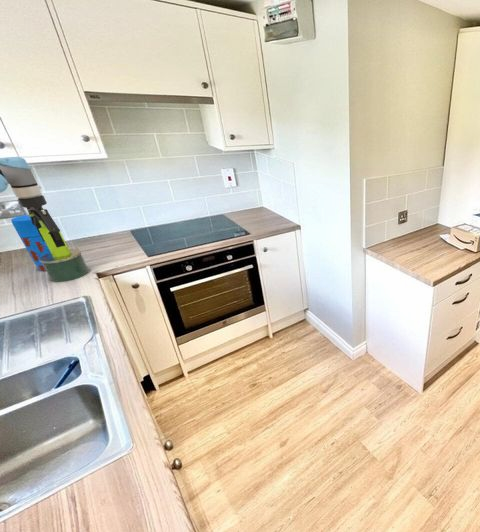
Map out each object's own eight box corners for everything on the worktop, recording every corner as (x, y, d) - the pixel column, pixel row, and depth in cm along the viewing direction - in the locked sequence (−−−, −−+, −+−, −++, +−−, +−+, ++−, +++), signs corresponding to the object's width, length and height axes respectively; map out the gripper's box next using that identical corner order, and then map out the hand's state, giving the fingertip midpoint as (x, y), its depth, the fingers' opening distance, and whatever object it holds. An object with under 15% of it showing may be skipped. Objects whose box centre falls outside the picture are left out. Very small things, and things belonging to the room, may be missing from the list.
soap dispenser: (46, 256, 144) (23, 214, 135) (65, 250, 150) (44, 209, 140) (54, 259, 142) (32, 215, 133) (73, 253, 148) (53, 211, 139)
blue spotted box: (56, 260, 163) (31, 213, 152) (74, 262, 162) (50, 214, 151) (31, 270, 154) (3, 220, 142) (50, 272, 152) (23, 222, 141)
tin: (58, 284, 142) (46, 264, 138) (44, 277, 148) (33, 257, 143) (95, 272, 153) (86, 252, 148) (81, 265, 159) (72, 246, 154)
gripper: (55, 198, 131) (78, 246, 141) (30, 190, 141) (52, 235, 151) (30, 202, 125) (55, 252, 135) (5, 194, 135) (31, 240, 145)
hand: (54, 243), depth 143 cm, fingers open, 13 cm apart
